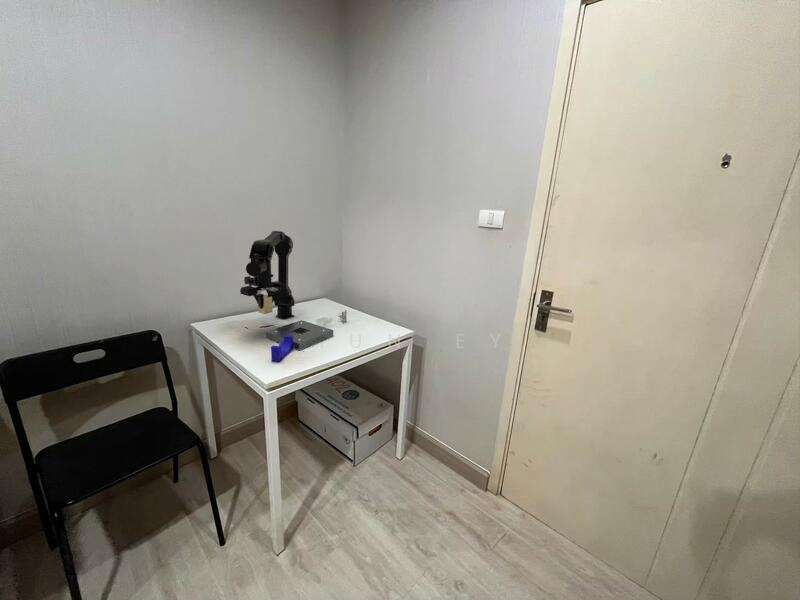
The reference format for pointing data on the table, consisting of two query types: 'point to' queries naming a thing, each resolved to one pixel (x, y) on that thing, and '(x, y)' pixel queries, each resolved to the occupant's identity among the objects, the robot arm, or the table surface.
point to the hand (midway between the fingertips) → (265, 307)
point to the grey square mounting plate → (300, 334)
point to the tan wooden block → (266, 305)
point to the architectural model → (343, 316)
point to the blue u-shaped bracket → (282, 349)
